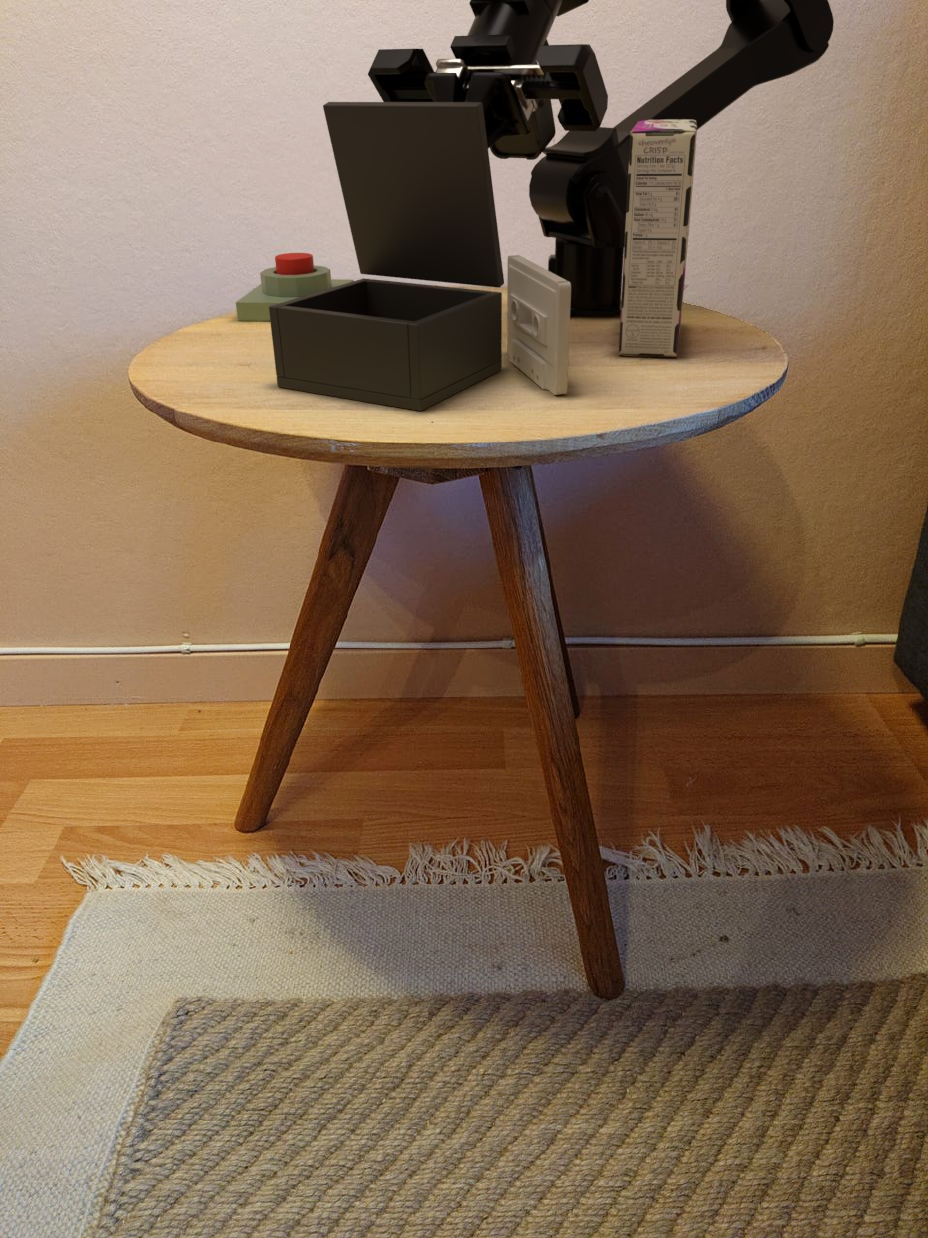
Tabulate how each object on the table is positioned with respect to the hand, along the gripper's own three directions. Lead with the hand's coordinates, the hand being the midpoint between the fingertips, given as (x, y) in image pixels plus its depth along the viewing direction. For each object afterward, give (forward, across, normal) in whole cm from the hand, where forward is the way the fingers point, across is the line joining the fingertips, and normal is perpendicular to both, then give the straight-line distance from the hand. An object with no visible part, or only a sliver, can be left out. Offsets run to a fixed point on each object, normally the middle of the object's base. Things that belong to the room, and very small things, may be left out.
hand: (446, 179), depth 73 cm
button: (+2, +22, -12) cm, 25 cm away
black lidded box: (+16, 0, -3) cm, 16 cm away
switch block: (+4, +22, -14) cm, 26 cm away
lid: (+4, 0, +3) cm, 5 cm away
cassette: (+11, -9, -7) cm, 16 cm away
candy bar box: (+2, -13, -17) cm, 21 cm away
